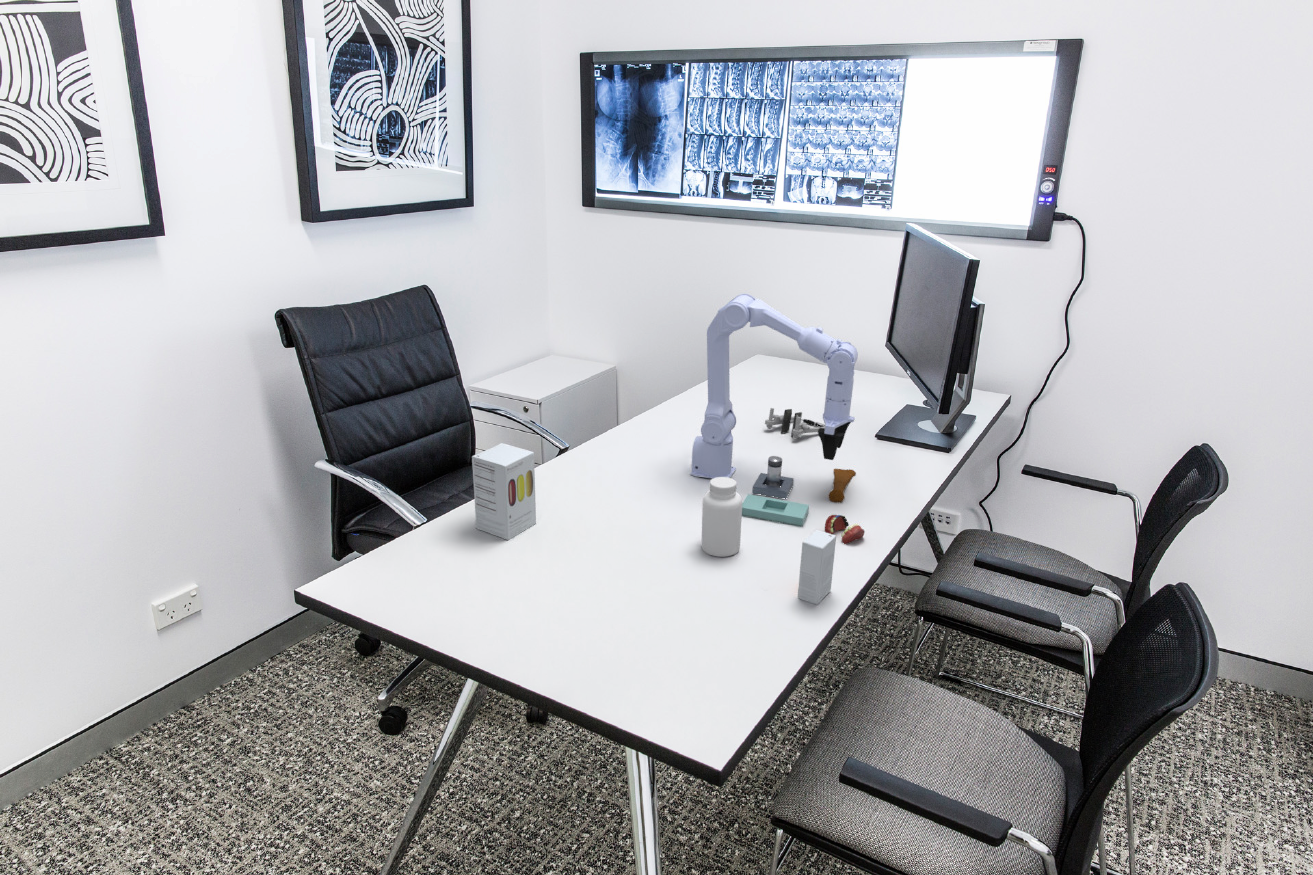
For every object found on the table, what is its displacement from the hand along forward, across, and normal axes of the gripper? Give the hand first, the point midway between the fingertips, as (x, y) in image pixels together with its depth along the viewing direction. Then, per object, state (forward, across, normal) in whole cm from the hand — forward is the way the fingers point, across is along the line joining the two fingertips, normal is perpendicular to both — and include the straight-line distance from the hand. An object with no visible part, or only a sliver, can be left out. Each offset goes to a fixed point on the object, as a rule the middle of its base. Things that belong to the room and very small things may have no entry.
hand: (832, 452), depth 195 cm
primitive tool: (+11, +5, -2) cm, 12 cm away
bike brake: (+11, +36, +15) cm, 41 cm away
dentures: (+10, -20, -8) cm, 23 cm away
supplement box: (+10, -46, +59) cm, 76 cm away
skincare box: (+10, -45, -7) cm, 46 cm away
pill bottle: (+10, -36, +14) cm, 40 cm away
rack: (+10, -16, +8) cm, 21 cm away
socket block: (+10, -4, +12) cm, 16 cm away
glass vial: (+10, -4, +12) cm, 16 cm away
